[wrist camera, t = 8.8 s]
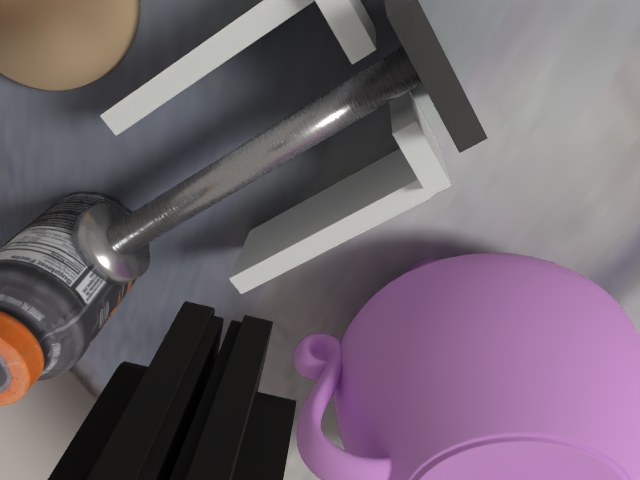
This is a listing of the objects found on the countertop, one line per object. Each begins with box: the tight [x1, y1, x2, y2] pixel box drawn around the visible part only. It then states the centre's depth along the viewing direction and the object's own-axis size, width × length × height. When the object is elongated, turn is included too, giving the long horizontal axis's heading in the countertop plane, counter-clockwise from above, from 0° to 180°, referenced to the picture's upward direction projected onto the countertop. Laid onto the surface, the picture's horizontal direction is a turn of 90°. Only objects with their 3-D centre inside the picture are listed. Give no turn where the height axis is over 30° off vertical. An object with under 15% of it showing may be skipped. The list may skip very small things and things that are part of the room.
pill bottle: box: [0, 192, 149, 406], centre depth 26 cm, size 6×6×11 cm
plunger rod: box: [73, 0, 487, 285], centre depth 24 cm, size 5×18×8 cm, turn 122°
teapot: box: [293, 253, 640, 480], centre depth 26 cm, size 22×16×14 cm
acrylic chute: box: [100, 0, 452, 294], centre depth 25 cm, size 10×11×6 cm
